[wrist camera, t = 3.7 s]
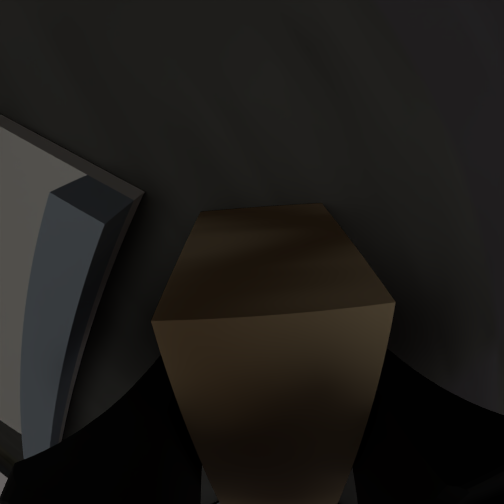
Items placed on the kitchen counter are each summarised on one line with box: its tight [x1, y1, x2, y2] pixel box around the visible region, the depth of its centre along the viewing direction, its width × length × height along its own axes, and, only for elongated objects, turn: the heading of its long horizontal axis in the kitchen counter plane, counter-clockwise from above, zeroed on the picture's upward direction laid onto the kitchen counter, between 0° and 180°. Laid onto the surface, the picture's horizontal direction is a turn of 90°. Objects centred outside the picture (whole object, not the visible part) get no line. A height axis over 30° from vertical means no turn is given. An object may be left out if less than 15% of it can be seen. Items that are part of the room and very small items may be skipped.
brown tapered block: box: [151, 203, 396, 504], centre depth 9 cm, size 4×8×6 cm, turn 4°
